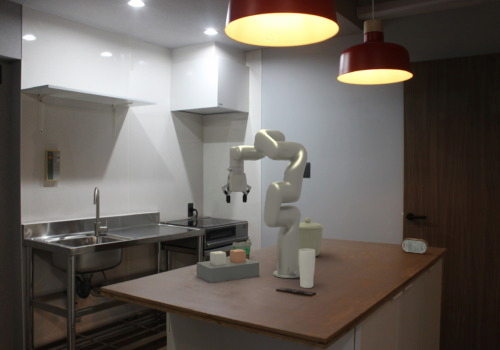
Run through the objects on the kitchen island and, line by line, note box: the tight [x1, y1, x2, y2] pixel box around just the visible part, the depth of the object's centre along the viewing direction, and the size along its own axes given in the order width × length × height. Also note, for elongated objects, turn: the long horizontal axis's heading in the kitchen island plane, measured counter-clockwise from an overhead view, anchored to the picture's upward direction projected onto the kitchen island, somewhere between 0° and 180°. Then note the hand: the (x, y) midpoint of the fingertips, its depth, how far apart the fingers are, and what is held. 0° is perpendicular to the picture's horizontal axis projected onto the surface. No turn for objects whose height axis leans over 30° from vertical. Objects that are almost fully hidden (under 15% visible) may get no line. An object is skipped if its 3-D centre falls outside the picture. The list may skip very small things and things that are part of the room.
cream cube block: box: [209, 250, 227, 266], centre depth 196 cm, size 5×5×6 cm
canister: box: [298, 217, 325, 257], centre depth 247 cm, size 18×18×21 cm
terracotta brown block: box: [229, 249, 246, 263], centre depth 201 cm, size 5×5×6 cm
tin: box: [400, 237, 430, 255], centre depth 257 cm, size 15×3×8 cm, turn 58°
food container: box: [232, 239, 252, 259], centre depth 233 cm, size 12×6×10 cm, turn 143°
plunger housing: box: [196, 258, 260, 284], centre depth 199 cm, size 14×24×6 cm, turn 121°
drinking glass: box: [298, 249, 316, 289], centre depth 181 cm, size 7×7×15 cm
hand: (236, 202), depth 235 cm, fingers open, 9 cm apart
